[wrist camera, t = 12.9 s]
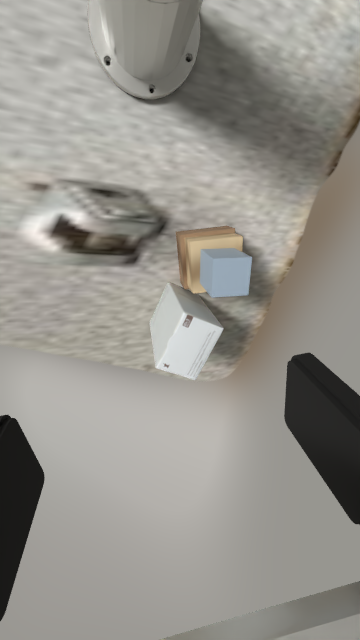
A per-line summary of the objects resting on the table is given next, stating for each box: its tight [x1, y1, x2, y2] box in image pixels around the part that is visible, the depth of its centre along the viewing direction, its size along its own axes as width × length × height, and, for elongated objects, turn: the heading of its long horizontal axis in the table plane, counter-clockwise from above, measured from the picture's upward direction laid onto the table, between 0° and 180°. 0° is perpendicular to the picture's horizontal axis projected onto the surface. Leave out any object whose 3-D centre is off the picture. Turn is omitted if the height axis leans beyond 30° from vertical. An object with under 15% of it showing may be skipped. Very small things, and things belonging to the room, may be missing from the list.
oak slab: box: [184, 233, 243, 294], centre depth 38 cm, size 7×7×4 cm
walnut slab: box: [176, 226, 235, 289], centre depth 42 cm, size 8×8×4 cm
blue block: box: [200, 248, 252, 297], centre depth 34 cm, size 4×4×6 cm
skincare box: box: [150, 282, 224, 380], centre depth 40 cm, size 8×6×15 cm
